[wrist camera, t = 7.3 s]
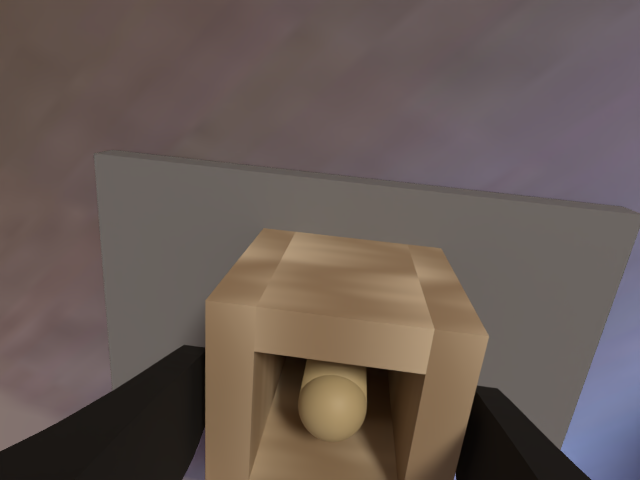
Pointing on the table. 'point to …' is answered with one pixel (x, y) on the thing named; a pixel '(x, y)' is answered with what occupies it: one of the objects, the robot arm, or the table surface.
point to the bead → (339, 359)
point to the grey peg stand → (369, 224)
